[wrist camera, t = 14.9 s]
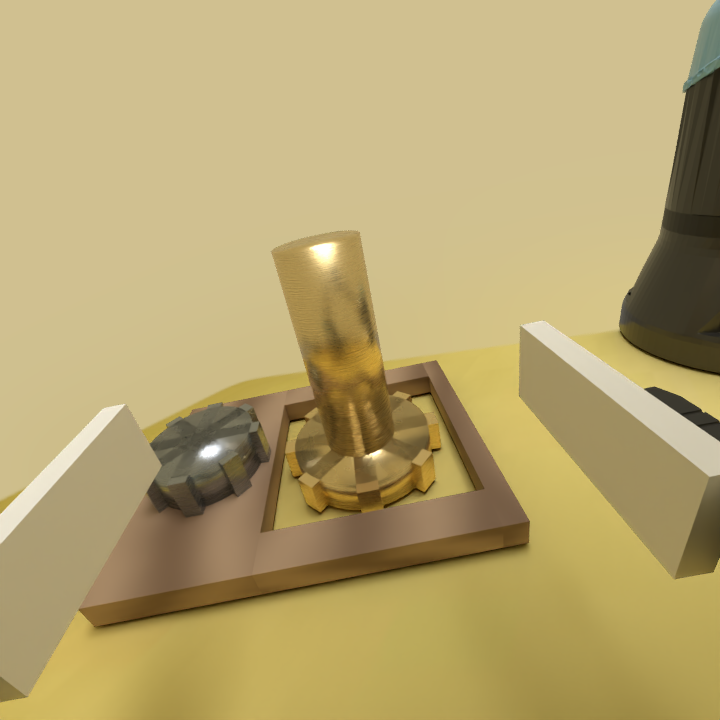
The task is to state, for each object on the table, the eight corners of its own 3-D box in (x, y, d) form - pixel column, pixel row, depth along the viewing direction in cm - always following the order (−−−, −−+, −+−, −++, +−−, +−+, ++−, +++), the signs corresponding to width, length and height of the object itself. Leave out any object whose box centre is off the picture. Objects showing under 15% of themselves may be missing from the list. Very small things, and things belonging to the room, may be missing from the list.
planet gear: (421, 400, 29) (397, 211, 22) (462, 499, 20) (441, 236, 14) (299, 425, 29) (239, 244, 22) (286, 534, 20) (183, 289, 14)
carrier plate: (437, 375, 31) (436, 360, 31) (528, 542, 17) (529, 521, 16) (199, 423, 32) (192, 409, 31) (94, 626, 18) (77, 609, 17)
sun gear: (277, 421, 27) (267, 393, 26) (260, 502, 20) (245, 470, 19) (177, 441, 27) (163, 414, 26) (128, 529, 21) (106, 497, 19)
